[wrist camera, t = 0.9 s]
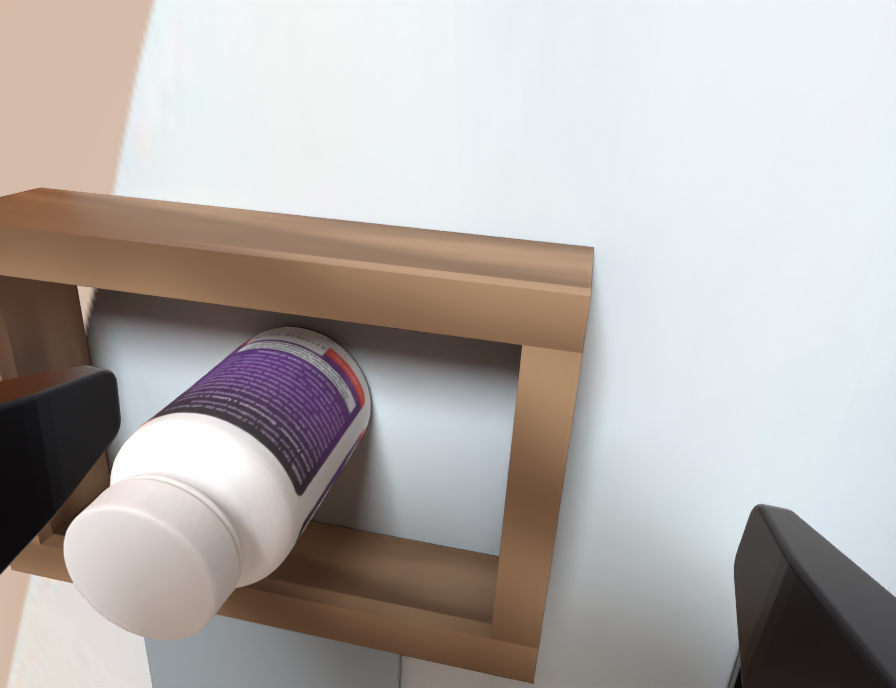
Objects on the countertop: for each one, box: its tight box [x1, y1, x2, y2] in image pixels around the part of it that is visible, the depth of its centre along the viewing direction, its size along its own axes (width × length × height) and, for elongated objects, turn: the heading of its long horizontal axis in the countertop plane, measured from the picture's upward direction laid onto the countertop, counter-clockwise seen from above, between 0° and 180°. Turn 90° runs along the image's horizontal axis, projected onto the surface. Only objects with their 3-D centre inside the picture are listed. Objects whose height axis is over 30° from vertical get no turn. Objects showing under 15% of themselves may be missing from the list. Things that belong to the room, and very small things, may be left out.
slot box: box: [0, 188, 594, 684], centre depth 23 cm, size 13×19×5 cm
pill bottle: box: [64, 327, 371, 641], centre depth 20 cm, size 5×5×10 cm
